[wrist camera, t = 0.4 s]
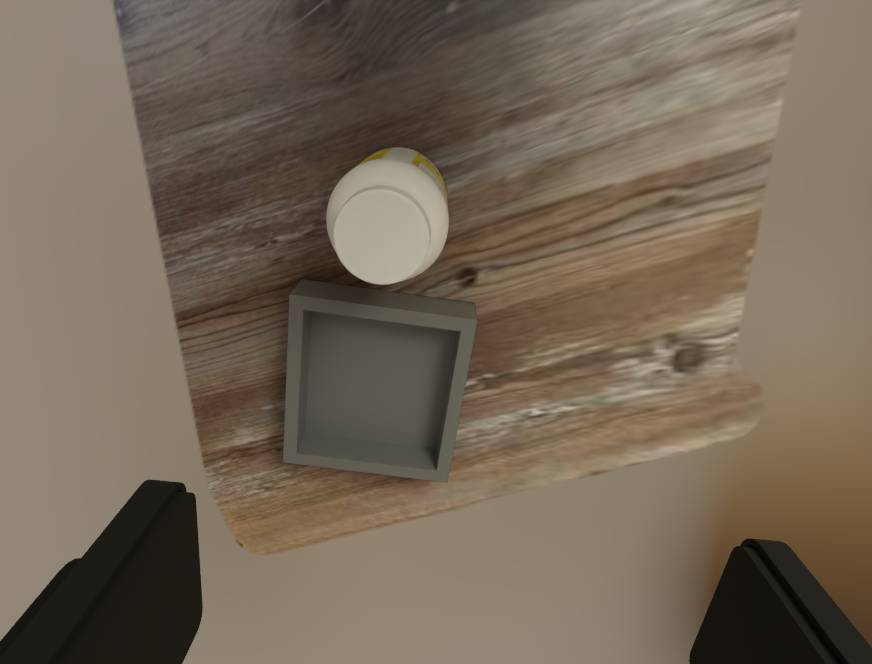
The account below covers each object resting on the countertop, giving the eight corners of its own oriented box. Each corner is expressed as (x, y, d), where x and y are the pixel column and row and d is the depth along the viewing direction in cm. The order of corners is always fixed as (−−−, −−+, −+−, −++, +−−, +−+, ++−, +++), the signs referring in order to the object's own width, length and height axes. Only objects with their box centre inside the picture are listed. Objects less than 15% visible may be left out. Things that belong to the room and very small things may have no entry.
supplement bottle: (343, 230, 39) (299, 286, 27) (361, 134, 36) (321, 149, 24) (434, 253, 39) (431, 317, 27) (458, 160, 37) (465, 187, 25)
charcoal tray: (301, 279, 40) (289, 294, 37) (474, 303, 41) (477, 320, 37) (294, 436, 45) (282, 462, 42) (447, 456, 46) (447, 482, 43)
